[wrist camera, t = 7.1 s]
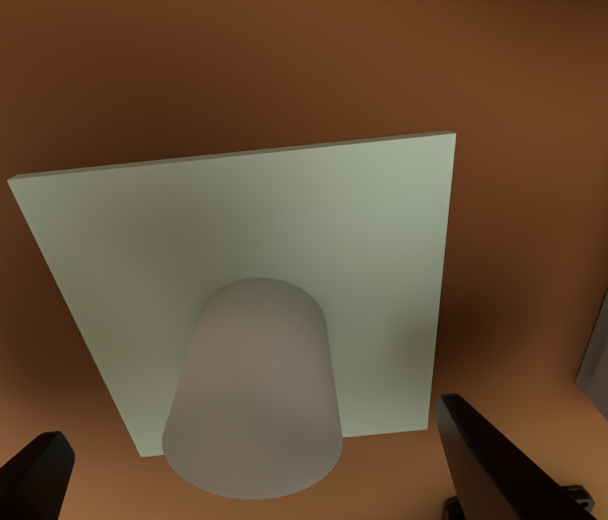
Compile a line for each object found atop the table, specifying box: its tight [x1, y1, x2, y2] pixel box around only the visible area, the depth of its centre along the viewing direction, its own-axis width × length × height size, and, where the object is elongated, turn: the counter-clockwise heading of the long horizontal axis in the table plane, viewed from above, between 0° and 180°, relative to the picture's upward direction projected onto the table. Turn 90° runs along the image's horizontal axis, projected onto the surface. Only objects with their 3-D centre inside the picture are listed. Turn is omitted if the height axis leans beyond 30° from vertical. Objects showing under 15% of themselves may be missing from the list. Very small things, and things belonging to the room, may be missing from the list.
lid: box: [7, 130, 456, 500], centre depth 11 cm, size 11×11×5 cm
